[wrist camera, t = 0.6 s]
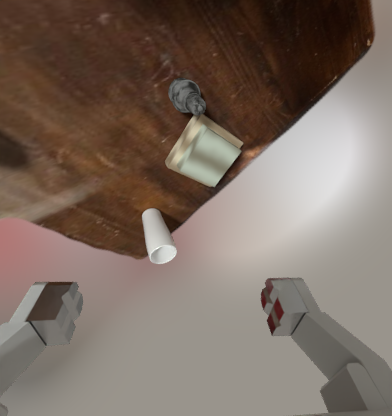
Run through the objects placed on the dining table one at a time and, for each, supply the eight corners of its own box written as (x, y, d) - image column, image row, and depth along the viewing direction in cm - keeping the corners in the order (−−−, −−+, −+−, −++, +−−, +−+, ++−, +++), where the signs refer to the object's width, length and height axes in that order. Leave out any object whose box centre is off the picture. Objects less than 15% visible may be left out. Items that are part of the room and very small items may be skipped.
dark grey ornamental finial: (168, 108, 47) (185, 129, 39) (166, 77, 43) (184, 92, 35) (194, 106, 49) (217, 125, 40) (194, 75, 45) (219, 89, 36)
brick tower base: (196, 109, 49) (207, 118, 45) (237, 138, 58) (249, 148, 54) (164, 161, 55) (171, 174, 50) (206, 181, 63) (215, 193, 59)
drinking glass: (166, 215, 66) (181, 254, 55) (146, 227, 66) (157, 268, 55) (155, 201, 61) (169, 240, 51) (134, 213, 61) (143, 255, 51)
